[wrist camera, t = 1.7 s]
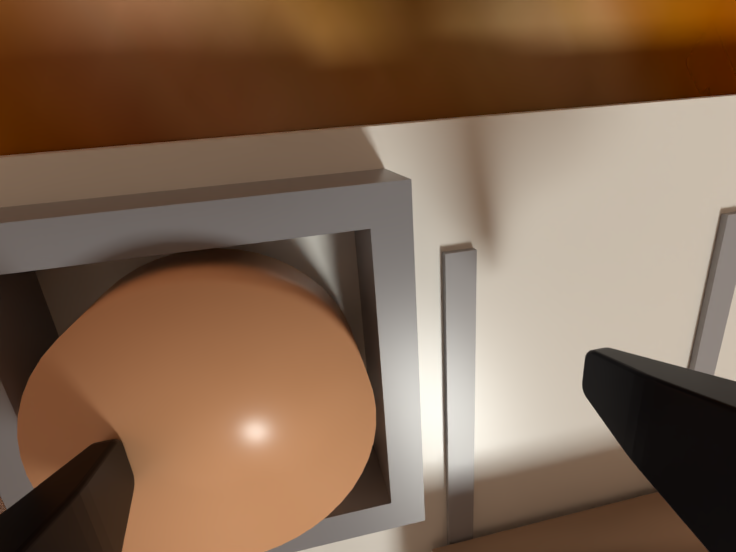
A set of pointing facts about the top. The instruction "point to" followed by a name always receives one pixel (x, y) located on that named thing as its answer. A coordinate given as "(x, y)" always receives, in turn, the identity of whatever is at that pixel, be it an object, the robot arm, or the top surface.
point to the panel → (421, 285)
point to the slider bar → (596, 531)
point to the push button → (209, 401)
